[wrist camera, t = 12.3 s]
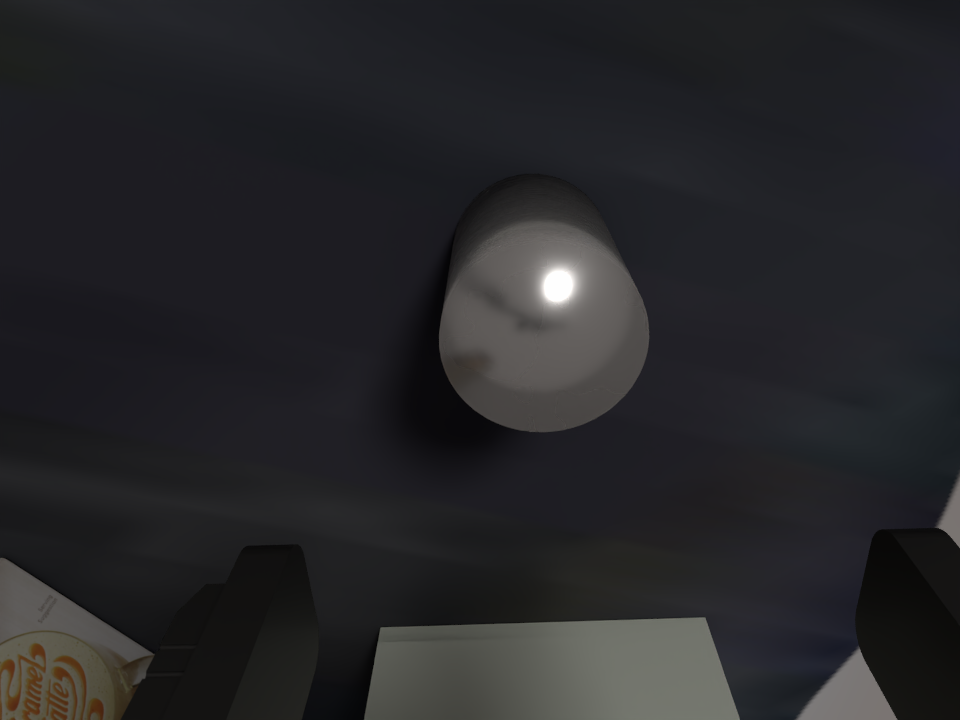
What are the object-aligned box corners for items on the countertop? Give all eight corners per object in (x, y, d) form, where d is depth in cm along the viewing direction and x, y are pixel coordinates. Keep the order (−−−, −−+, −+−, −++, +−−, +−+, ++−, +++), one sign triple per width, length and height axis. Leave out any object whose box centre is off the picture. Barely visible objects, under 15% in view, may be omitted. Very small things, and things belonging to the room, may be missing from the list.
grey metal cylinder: (447, 178, 23) (429, 247, 17) (609, 168, 23) (653, 235, 16) (458, 326, 25) (447, 436, 19) (606, 319, 25) (644, 428, 19)
